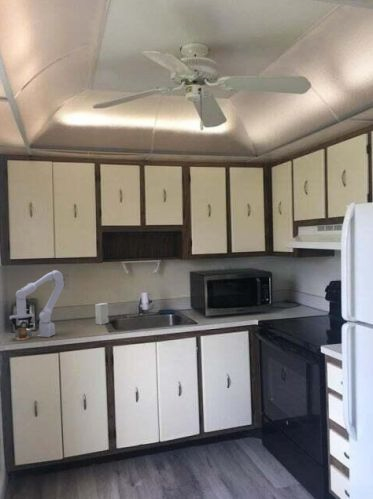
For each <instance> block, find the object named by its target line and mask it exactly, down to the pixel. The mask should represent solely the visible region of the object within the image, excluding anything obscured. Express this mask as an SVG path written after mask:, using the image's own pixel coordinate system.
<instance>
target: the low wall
mask: <svg viewBox="0 0 373 499" xmlns="http://www.w3.org/2000/svg"><path fill="white" fill-rule="evenodd" d="M14 333H15V338H17V337H19V334H18V331H15V332H14ZM27 336H29V337H30V336H32V330H27Z"/></svg>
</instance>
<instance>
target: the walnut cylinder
mask: <svg viewBox="0 0 373 499" xmlns="http://www.w3.org/2000/svg"><path fill="white" fill-rule="evenodd" d="M27 329H28V328H27V327H19V328H17V332H18V334H19V336H18V337H19V339H23V338H27V331H28V330H27Z"/></svg>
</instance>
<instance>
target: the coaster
mask: <svg viewBox="0 0 373 499" xmlns="http://www.w3.org/2000/svg"><path fill="white" fill-rule="evenodd" d="M15 339H16V340H17V341H24V340H28V339H30V335H29V336H27V338H23V339H19V336H18V337H15Z"/></svg>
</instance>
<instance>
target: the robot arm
mask: <svg viewBox="0 0 373 499" xmlns="http://www.w3.org/2000/svg"><path fill="white" fill-rule="evenodd" d="M49 281H54V284H55V286H54V288H53V291H52V292H51V295H50V297H49V299H48V301H47V303H46V305H45V307H44V308H43V309H42V310H41V311H40V312H39V315H38V318H39V324H38V326H39V334H38V335H36V337H43V338H44V337H45V338H50V337H52V336H55V335H56V334H57V333H56V325H55V323H54V322H52V321H51V316H52V313H53V309H54V307H55V305H56V303H57V301H58V299H59V297H60V295H61V293H62V291H63V289H64V286H65V282H64V275H63V274H62V272H61V271H59V270H57V269H55V270H52V271H51V272H48V273H46V274H44V275H43V276H42V277H41V278H39V279H38V280H37V281H35V282H29V283H27V284H26V285H25V286H23V287H21V288H20V289H18V290H17V291H16V292H15V298H16V314H15V315H13V314H12V315H10V316H9V320H11V322H12V324H13V325H14V330H15V331H18V326H17V319H18V320H19V319H25V318H26V319H27V329H29V330H30V329H31V328H30V327H31V326H30V325H31V322H32V320H33V318H34V317H35V314H34V313H27V301H26V297H27V296H29V295H31V294H32V293H34V292H36V290H37V287H39V286H42V285H43V284H44V283H46V282H49Z"/></svg>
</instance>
